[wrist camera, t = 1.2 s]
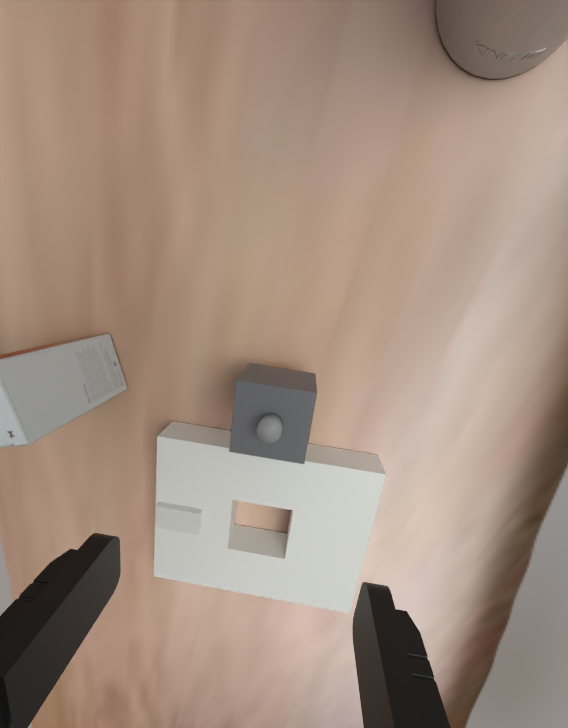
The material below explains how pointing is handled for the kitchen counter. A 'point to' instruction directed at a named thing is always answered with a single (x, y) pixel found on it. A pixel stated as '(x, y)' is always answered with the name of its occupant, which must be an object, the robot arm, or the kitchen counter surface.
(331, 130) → the kitchen counter surface
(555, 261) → the kitchen counter surface
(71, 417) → the small box
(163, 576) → the socket plate
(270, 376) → the plug
